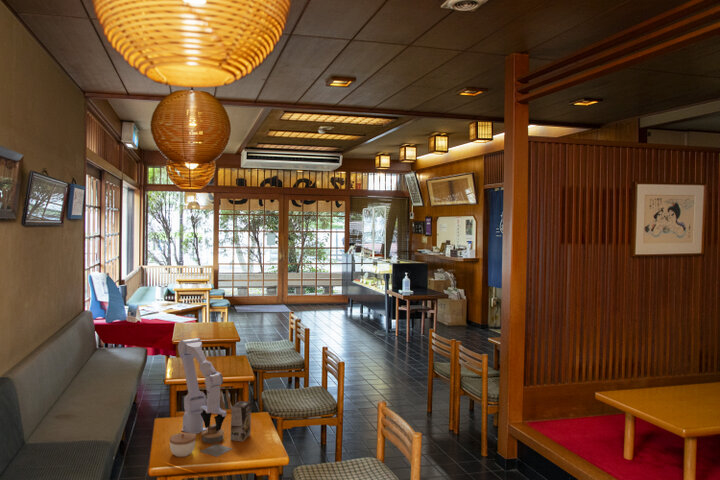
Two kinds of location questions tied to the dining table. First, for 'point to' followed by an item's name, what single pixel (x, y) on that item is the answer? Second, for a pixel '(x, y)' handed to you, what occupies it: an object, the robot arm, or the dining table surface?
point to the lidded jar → (182, 444)
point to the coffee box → (241, 421)
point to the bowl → (212, 439)
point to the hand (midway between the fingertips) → (212, 428)
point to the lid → (212, 432)
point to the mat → (216, 450)
